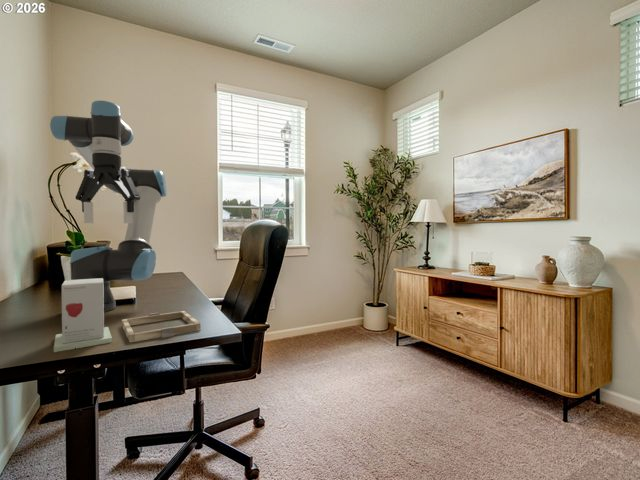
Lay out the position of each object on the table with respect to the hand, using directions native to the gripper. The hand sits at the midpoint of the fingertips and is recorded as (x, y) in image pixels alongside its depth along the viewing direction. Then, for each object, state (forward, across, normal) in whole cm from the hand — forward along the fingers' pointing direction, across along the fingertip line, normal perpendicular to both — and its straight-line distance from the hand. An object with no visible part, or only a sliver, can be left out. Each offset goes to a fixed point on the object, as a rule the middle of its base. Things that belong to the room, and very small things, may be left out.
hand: (108, 223), depth 102 cm
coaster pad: (+32, +4, -14) cm, 35 cm away
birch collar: (+32, +18, -1) cm, 36 cm away
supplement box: (+31, +4, -14) cm, 34 cm away
